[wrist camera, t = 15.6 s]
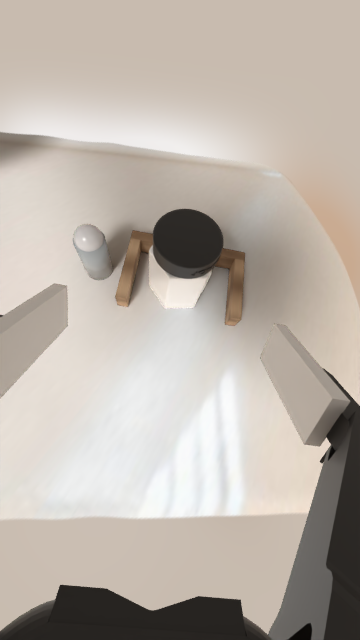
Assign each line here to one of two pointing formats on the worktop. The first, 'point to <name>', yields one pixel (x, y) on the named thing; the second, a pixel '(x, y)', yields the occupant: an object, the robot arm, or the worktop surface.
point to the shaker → (93, 251)
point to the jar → (183, 257)
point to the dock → (226, 260)
